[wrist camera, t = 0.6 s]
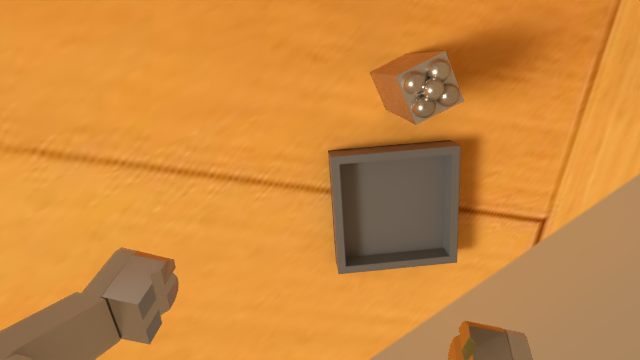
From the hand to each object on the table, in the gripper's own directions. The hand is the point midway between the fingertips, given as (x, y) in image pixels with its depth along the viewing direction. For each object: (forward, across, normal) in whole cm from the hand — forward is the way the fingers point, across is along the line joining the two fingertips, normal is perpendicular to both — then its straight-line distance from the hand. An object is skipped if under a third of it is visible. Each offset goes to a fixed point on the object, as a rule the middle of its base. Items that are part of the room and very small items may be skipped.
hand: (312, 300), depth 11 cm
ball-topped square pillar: (+41, -4, +10) cm, 42 cm away
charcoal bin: (+36, -6, +24) cm, 44 cm away
